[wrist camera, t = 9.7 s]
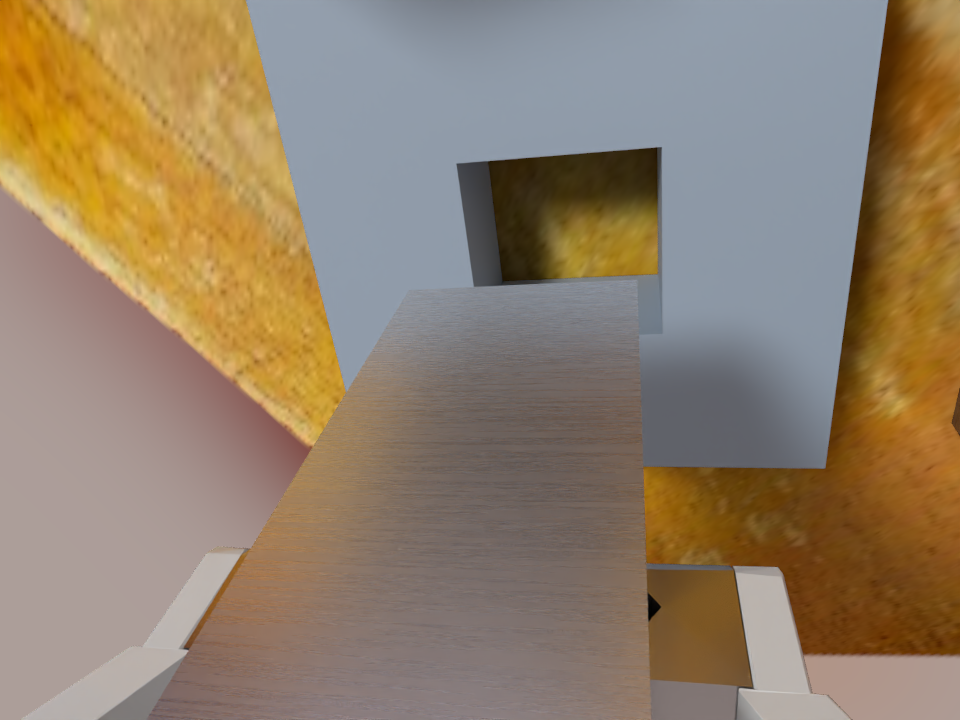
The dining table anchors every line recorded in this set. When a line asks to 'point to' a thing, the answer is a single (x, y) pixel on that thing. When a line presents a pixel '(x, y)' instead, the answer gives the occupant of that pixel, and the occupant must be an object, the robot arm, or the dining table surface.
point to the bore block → (599, 128)
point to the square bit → (454, 530)
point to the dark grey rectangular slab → (957, 415)
